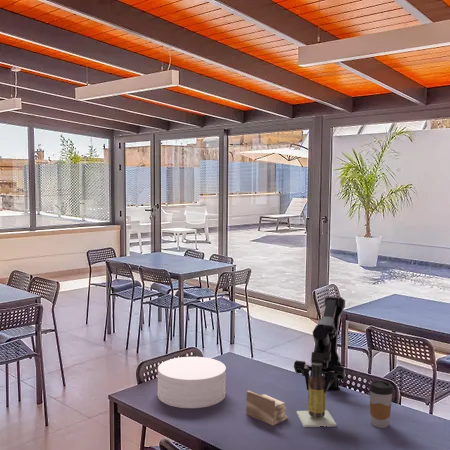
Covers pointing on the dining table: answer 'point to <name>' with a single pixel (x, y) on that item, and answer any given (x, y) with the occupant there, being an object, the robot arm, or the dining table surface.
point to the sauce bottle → (316, 391)
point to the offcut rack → (265, 408)
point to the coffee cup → (380, 403)
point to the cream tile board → (316, 420)
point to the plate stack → (191, 382)
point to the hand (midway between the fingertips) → (316, 391)
